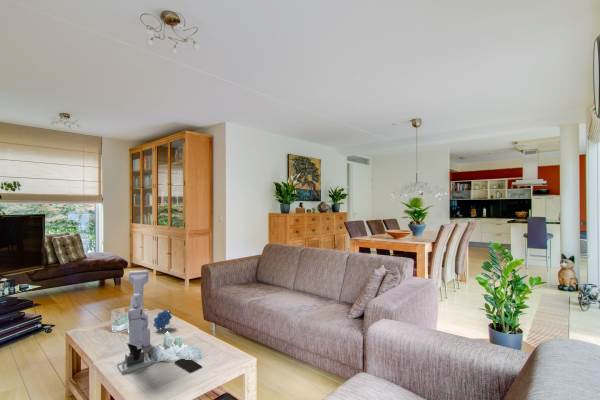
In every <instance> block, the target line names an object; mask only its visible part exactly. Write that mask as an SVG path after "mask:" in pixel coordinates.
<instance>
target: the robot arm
mask: <svg viewBox="0 0 600 400" xmlns="http://www.w3.org/2000/svg"><path fill="white" fill-rule="evenodd" d="M149 272H150V271H149V269H144V270H130V271H129V273H128V282H129V283H130V284H131V285H133V295H132V296H131V297H130V304H129V309H128V311H127V319H128V341H126V345H127V347H128V349H129V353H131V352H133V358H134V361H136V360H139V357H140V353H141V350H143V349H144V347H148V346H151V345H152V344H151V331H150V330H151V329H150V327H149V315H148V314H147V313H146V312H145V311H144V286H145V285H146V284H148V283H149V279H150V278H149V275H150V273H149Z"/></svg>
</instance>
